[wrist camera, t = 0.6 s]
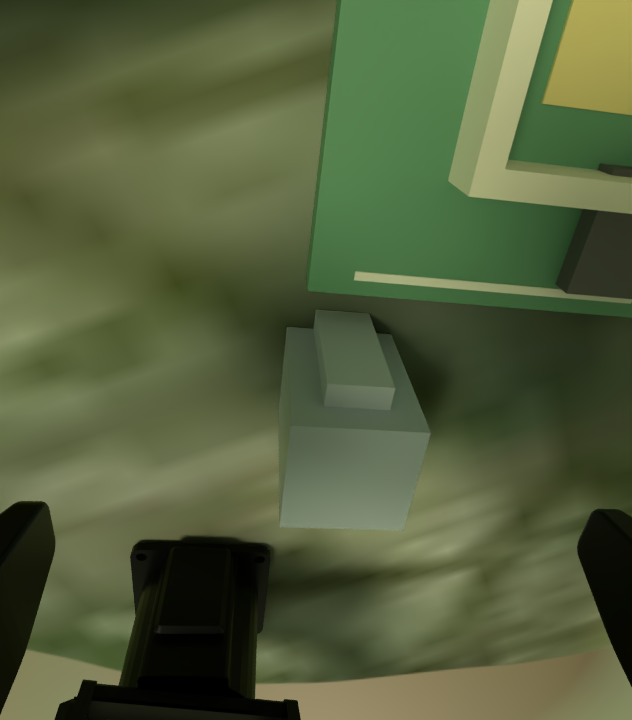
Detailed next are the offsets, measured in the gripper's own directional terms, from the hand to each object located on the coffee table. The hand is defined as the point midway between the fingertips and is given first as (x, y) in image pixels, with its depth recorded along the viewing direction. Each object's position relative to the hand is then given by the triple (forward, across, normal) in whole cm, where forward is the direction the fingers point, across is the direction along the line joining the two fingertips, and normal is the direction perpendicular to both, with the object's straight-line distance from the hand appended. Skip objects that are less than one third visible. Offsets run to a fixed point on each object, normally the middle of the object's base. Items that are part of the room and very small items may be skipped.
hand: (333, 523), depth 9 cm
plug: (+12, -2, +4) cm, 12 cm away
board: (+11, -7, -7) cm, 15 cm away
